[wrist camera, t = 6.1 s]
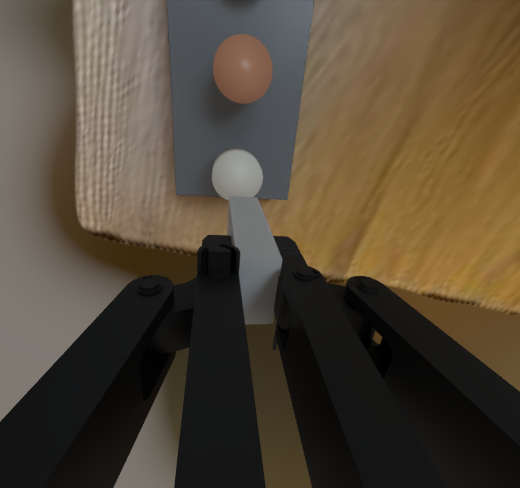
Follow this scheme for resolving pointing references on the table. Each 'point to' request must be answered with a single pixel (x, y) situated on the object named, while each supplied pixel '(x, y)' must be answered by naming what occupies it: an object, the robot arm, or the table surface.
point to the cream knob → (236, 173)
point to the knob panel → (224, 110)
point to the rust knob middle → (242, 68)
